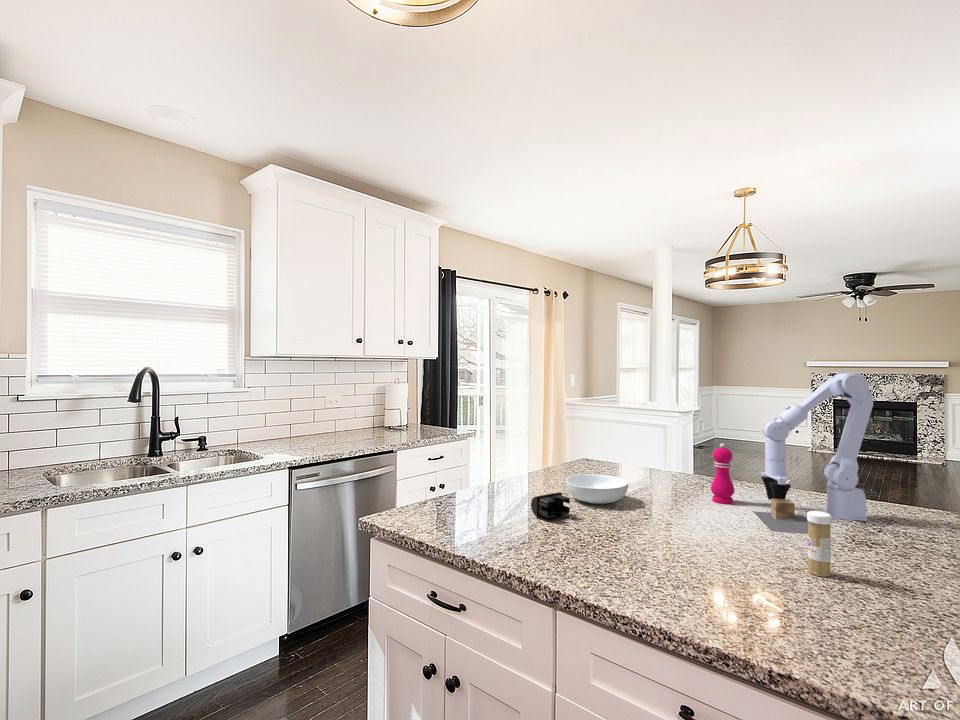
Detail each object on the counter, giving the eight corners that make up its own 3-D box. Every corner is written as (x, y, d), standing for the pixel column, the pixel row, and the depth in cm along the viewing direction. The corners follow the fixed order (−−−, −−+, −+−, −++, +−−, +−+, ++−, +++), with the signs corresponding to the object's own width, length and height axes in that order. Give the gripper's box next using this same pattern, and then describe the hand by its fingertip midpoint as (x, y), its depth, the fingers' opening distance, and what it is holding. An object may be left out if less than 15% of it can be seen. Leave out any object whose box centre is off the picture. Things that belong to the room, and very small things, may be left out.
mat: (802, 515, 162) (802, 514, 162) (828, 536, 142) (828, 535, 142) (752, 512, 165) (753, 511, 165) (771, 532, 146) (771, 531, 146)
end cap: (555, 511, 166) (555, 490, 166) (570, 517, 160) (571, 495, 160) (530, 516, 160) (530, 494, 160) (545, 522, 154) (545, 499, 154)
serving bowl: (554, 496, 184) (554, 477, 184) (602, 490, 193) (602, 472, 193) (590, 512, 165) (590, 490, 165) (642, 504, 174) (642, 484, 174)
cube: (789, 515, 160) (789, 499, 160) (794, 520, 156) (794, 503, 156) (771, 514, 162) (771, 498, 162) (775, 519, 157) (775, 502, 157)
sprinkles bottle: (802, 569, 119) (802, 510, 119) (821, 569, 120) (821, 510, 120) (817, 578, 115) (817, 516, 115) (836, 577, 115) (836, 515, 115)
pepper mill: (737, 506, 172) (737, 445, 172) (713, 504, 174) (713, 444, 174) (731, 500, 179) (731, 441, 180) (708, 499, 181) (708, 441, 181)
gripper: (755, 455, 174) (755, 496, 174) (767, 463, 160) (767, 507, 160) (779, 456, 172) (779, 497, 172) (793, 464, 158) (793, 509, 158)
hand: (775, 502), depth 166 cm, fingers open, 7 cm apart
